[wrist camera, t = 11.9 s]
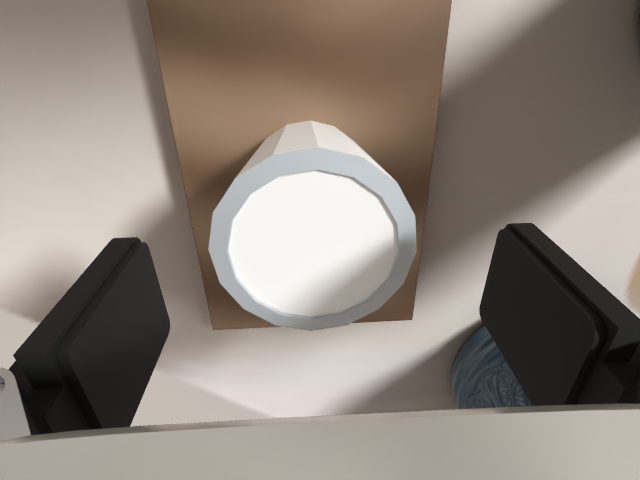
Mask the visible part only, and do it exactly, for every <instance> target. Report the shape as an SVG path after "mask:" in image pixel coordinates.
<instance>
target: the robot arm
mask: <svg viewBox="0 0 640 480" xmlns="http://www.w3.org/2000/svg"><path fill="white" fill-rule="evenodd" d="M480 317H481V320H482V321H483V323H484V325H485V327H486V328H487V330H488V332H489V333H490V335H491V337H492V338H493V340H494V342H495V343H496V345H497V347H498V348H499V350H500V352H501V353H502V355H503V357H504V358H505V360H506V362H507V364H508V365H509V367H510V369H511V370H512V372H513V374H514V375H515V377H516V379H517V380H518V382H519V384H520V385H521V387H522V389H523V390H524V392H525V394H526V395H527V397H528V399H529V401H530V402H531V404H532V406H523V407H500V408H477V409H455V410H432V411H411V412H391V413H370V414H350V415H330V416H310V417H291V418H272V419H254V420H235V421H217V422H200V423H181V424H164V425H148V426H135V427H130V425H131V423H132V420H133V417H134V416H135V413H136V411H137V408H138V406H139V404H140V401H141V399H142V396H143V394H144V391H145V389H146V387H147V384H148V382H149V380H150V377H151V375H152V372H153V370H154V368H155V365H156V363H157V361H158V358H159V356H160V353H161V351H162V349H163V346H164V344H165V341H166V339H167V337H168V334H169V330H170V320H169V317H168V313H167V310H166V306H165V303H164V299H163V296H162V292H161V289H160V285H159V282H158V278H157V275H156V271H155V268H154V264H153V261H152V257H151V254H150V250H149V247H148V245H147V244H146V243H145V242H144V243H141V241H140V239H139V238H137V237H132V238H113V239H112V240H111V241H110V242H109V243H108V244H107V246H106V247H105V248H104V249H103V250H102V251H101V253H100V254H99V255H98V256H97V257H96V258H95V260H94V261H93V262H92V263H91V264H90V266H89V267H88V268H87V269H86V270H85V271H84V273H83V274H82V275H81V276H80V277H79V278H78V280H77V281H76V282H75V283H74V284H73V285H72V287H71V288H70V289H69V290H68V291H67V293H66V294H65V295H64V296H63V297H62V298H61V300H60V301H59V302H58V303H57V304H56V305H55V307H54V308H53V309H52V310H51V311H50V312H49V314H48V315H47V316H46V317H45V318H44V320H43V321H42V322H41V323H40V324H39V325H38V327H37V328H36V329H35V330H34V331H33V333H32V334H31V335H30V336H29V337H28V338H27V340H26V341H25V342H24V343H23V344H22V345H21V347H20V348H19V349H18V350H17V351H16V353H15V354H14V355H13V356H14V358H15V359H16V361H15V362H14V364H13V365H12V366H11V367H10V368H9V370H7V369H4V368H0V480H640V319H639V318H638V317H637V316H636V315H635V314H634V313H633V312H631V311H630V310H629V309H628V308H627V307H626V306H625V305H624V304H622V303H621V302H620V301H619V300H618V299H617V298H616V297H615V296H613V295H612V294H611V293H610V292H609V291H608V290H607V289H606V288H605V287H603V286H602V285H601V284H600V283H599V282H598V281H597V280H596V279H594V278H593V277H592V276H591V275H590V274H589V273H588V272H587V271H585V270H584V269H583V268H582V267H581V266H580V265H579V264H578V263H577V262H575V261H574V260H573V259H572V258H571V257H570V256H569V255H568V254H566V253H565V252H564V251H563V250H562V249H561V248H560V247H559V246H557V245H556V244H555V243H554V242H553V241H552V240H551V239H550V238H549V237H547V236H546V235H545V234H544V233H543V232H542V231H541V230H540V229H538V228H537V227H536V226H535V225H534V224H532V223H515V224H508V225H506V227H505V228H504V229H501V230H500V231H499V233H498V235H497V239H496V243H495V247H494V251H493V255H492V260H491V264H490V268H489V272H488V276H487V280H486V284H485V288H484V292H483V296H482V300H481V304H480Z"/></svg>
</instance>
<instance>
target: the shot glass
mask: <svg viewBox="0 0 640 480" xmlns="http://www.w3.org/2000/svg"><path fill="white" fill-rule="evenodd" d="M208 250H209V253H210V256H211V259H212V262H213V265H214V268H215V270H216V273H217V276H218V279H219V282H220V284H221V285H222V286H223V287H224V288H225V289H226V290H227V291H228V293H229V294H230V295H231V296H232V297H233V298H234V299H235V300H236V301H237V302H238V303H239V304H240V306H241V307H242V308H243V309H244V310H246V311H248V312H250V313H252V314H254V315H256V316H258V317H260V318H262V319H264V320H266V321H268V322H270V323H272V324H274V325H277V326H284V327H291V328H297V329H304V330H311V331H312V330H318V329H325V328H331V327H338V326H344V325H348V324H350V323H352V322H354V321H356V320H358V319H360V318H362V317H364V316H366V315H368V314H370V313H372V312H374V311H376V310H378V309H379V308H380V307H381V306H382V305H383V304H384V303H385V302H386V301H387V300H388V299H389V298H390V297H391V296H392V295H393V294H394V293H395V292H396V291H397V290H398V289H399V288H400V287H401V286H402V285H403V284H404V281H405V279H406V276H407V274H408V272H409V269H410V267H411V264H412V262H413V260H414V257H415V255H416V252H417V246H416V220H415V214H414V213H413V211H412V209H411V207H410V205H409V203H408V201H407V200H406V198H405V196H404V194H403V192H402V190H401V188H400V187H399V185H398V183H397V182H396V181H395V180H394V179H393V178H392V177H391V176H390V175H389V174H388V173H387V172H386V171H385V170H384V169H383V168H382V167H381V166H380V165H379V164H377V163H376V162H375V161H374V160H373V159H372V158H371V157H370V156H369V155H368V154H367V153H366V152H365V151H364V150H363V149H362V148H361V147H360V146H359V145H358V144H356V143H355V142H354V141H353V140H352V139H351V138H349V137H348V136H347V135H345V134H344V133H343V132H341V131H340V130H339V129H337V128H336V127H335V126H332V125H327V124H323V123H319V122H315V121H305V122H299V123H293V124H287V125H285V126H284V127H282V128H281V129H279V130H278V131H276V132H275V133H273V134H272V135H270V136H268V137H267V138H266V139H265V141H264V142H263V143H262V144H261V146H260V147H259V148H258V150H257V151H256V152H255V153H254V155H253V156H252V157H251V159H250V160H249V161H248V162H247V164H246V165H245V166H244V168H243V169H242V170H241V172H240V173H239V174H238V175H237V177H236V178H235V179H234V181H233V182H232V184H231V186H230V187H229V189H228V190H227V192H226V193H225V195H224V196H223V198H222V199H221V201H220V202H219V204H218V205H217V207H216V209H215V210H214V212H213V215H212V223H211V232H210V240H209V248H208Z"/></svg>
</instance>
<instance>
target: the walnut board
mask: <svg viewBox="0 0 640 480" xmlns="http://www.w3.org/2000/svg"><path fill="white" fill-rule="evenodd" d="M451 3H452V0H147V4H148V9H149V14H150V19H151V24H152V29H153V34H154V39H155V44H156V49H157V54H158V59H159V64H160V69H161V74H162V79H163V84H164V89H165V94H166V99H167V104H168V108H169V113H170V118H171V123H172V128H173V133H174V138H175V143H176V148H177V153H178V158H179V163H180V168H181V173H182V178H183V183H184V188H185V193H186V198H187V203H188V208H189V213H190V218H191V223H192V228H193V232H194V237H195V242H196V247H197V252H198V257H199V262H200V267H201V272H202V277H203V282H204V287H205V292H206V297H207V302H208V307H209V312H210V317H211V322H212V327H213V330H222V329H242V328H262V327H281V326H277V325H274V324H272V323H270V322H268V321H266V320H264V319H262V318H260V317H258V316H256V315H254V314H252V313H250V312H248V311H246V310H244V309H243V308H242V307H241V306H240V304H239V303H238V302H237V301H236V300H235V299H234V298H233V297H232V296H231V295H230V294H229V293H228V291H227V290H226V289H225V288H224V287H223V286H222V285H221V284H220V282H219V279H218V276H217V273H216V270H215V268H214V265H213V262H212V259H211V256H210V253H209V250H208V248H209V240H210V232H211V223H212V215H213V212H214V210H215V209H216V207H217V205H218V204H219V202H220V201H221V199H222V198H223V196H224V195H225V193H226V192H227V190H228V189H229V187H230V186H231V184H232V182H233V181H234V179H235V178H236V177H237V175H238V174H239V173H240V172H241V170H242V169H243V168H244V166H245V165H246V164H247V162H248V161H249V160H250V159H251V157H252V156H253V155H254V153H255V152H256V151H257V150H258V148H259V147H260V146H261V144H262V143H263V142H264V141H265V139H266V138H267V137H268V136H270V135H272V134H273V133H275V132H276V131H278V130H279V129H281V128H282V127H284V126H285V125H287V124H293V123H299V122H305V121H315V122H319V123H323V124H327V125H332V126H335V127H336V128H337V129H339V130H340V131H341V132H343V133H344V134H345V135H347V136H348V137H349V138H351V139H352V140H353V141H354V142H355V143H356V144H358V145H359V146H360V147H361V148H362V149H363V150H364V151H365V152H366V153H367V154H368V155H369V156H370V157H371V158H372V159H373V160H374V161H375V162H376V163H377V164H379V165H380V166H381V167H382V168H383V169H384V170H385V171H386V172H387V173H388V174H389V175H390V176H391V177H392V178H393V179H394V180H395V181H396V182H397V183H398V185H399V187H400V188H401V190H402V192H403V194H404V196H405V198H406V200H407V201H408V203H409V205H410V207H411V209H412V211H413V213H414V214H415V220H416V246H417V252H416V255H415V257H414V260H413V262H412V264H411V267H410V269H409V272H408V274H407V276H406V279H405V281H404V284H403V285H402V286H401V287H400V288H399V289H398V290H397V291H396V292H395V293H394V294H393V295H392V296H391V297H390V298H389V299H388V300H387V301H386V302H385V303H384V304H383V305H382V306H381V307H380V308H379V309H378V310H376V311H374V312H372V313H370V314H368V315H366V316H364V317H362V318H360V319H358V320H356V321H354V322H352V323H360V322H380V321H399V320H412V318H413V310H414V301H415V293H416V285H417V277H418V269H419V261H420V253H421V245H422V237H423V229H424V221H425V213H426V205H427V196H428V188H429V180H430V172H431V164H432V156H433V148H434V140H435V132H436V124H437V116H438V108H439V100H440V91H441V83H442V75H443V67H444V59H445V51H446V43H447V35H448V27H449V19H450V11H451Z"/></svg>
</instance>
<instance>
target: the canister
mask: <svg viewBox="0 0 640 480" xmlns="http://www.w3.org/2000/svg"><path fill="white" fill-rule="evenodd" d="M451 386H452V390H453V397H454V403H455V407H456V409H477V408H500V407H523V406H532V404H531V402H530V401H529V399H528V397H527V395H526V394H525V392H524V390H523V389H522V387H521V385H520V384H519V382H518V380H517V379H516V377H515V375H514V374H513V372H512V370H511V369H510V367H509V365H508V364H507V362H506V360H505V358H504V357H503V355H502V353H501V352H500V350H499V348H498V347H497V345H496V343H495V342H494V340H493V338H492V337H491V335H490V333H489V332H488V330H487V328H486V327H485V325H483V326H482V327H481V328H480V329H479V330H477V331H476V332H475V333H474V334H473V335H472V336H471V337H470V338H469V339H468V341H467V342H466V343H465V344H464V346H463V347H462V348H461V350H460V352H459V353H458V355H457V357H456V359H455V362H454V364H453V367H452V372H451Z"/></svg>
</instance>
